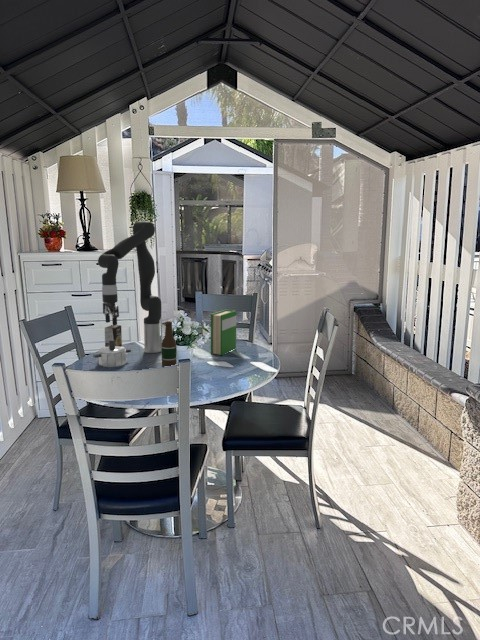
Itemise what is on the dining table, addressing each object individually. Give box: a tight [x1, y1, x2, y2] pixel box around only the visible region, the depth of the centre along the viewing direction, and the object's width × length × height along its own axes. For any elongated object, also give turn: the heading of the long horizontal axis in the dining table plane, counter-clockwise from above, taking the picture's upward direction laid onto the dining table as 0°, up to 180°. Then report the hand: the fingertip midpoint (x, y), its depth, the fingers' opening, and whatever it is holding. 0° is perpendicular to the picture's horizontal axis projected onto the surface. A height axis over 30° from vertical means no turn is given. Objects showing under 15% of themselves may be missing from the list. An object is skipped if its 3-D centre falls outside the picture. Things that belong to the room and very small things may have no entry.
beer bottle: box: [161, 320, 178, 368], centre depth 241 cm, size 8×8×24 cm
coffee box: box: [104, 324, 123, 347], centre depth 264 cm, size 9×6×16 cm
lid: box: [98, 340, 126, 354], centre depth 245 cm, size 14×14×7 cm
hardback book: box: [210, 309, 237, 356], centre depth 271 cm, size 18×7×24 cm, turn 153°
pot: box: [92, 348, 132, 368], centre depth 246 cm, size 20×14×7 cm
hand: (111, 323), depth 243 cm, fingers open, 8 cm apart
